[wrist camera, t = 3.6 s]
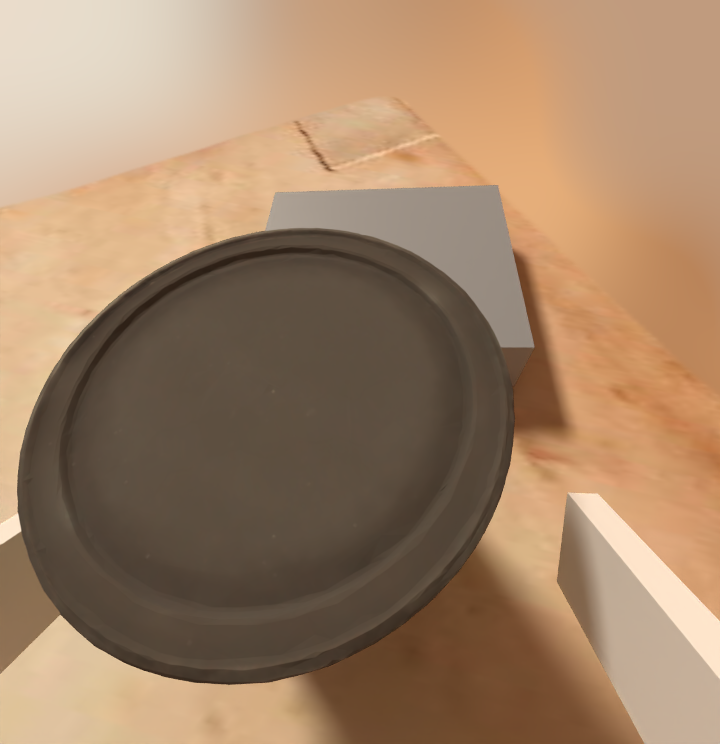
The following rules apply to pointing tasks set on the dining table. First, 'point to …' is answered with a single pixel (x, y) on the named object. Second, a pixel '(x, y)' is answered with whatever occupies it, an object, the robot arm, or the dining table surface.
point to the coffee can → (265, 456)
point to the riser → (433, 243)
